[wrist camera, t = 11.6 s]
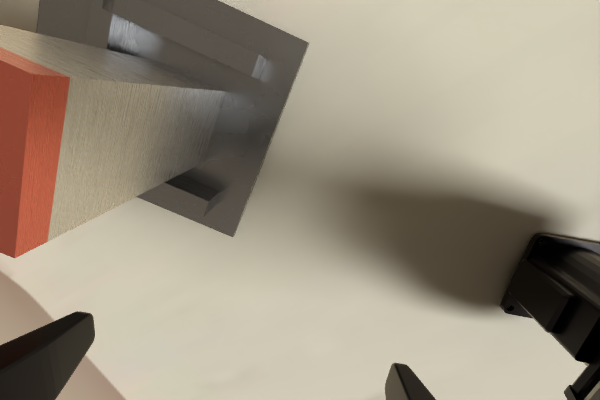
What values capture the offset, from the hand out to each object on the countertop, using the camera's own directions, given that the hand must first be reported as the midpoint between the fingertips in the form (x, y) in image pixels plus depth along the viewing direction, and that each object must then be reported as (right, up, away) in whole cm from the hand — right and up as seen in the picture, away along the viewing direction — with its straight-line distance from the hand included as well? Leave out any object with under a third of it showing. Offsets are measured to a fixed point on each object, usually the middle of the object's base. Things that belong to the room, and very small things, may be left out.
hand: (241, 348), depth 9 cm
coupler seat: (-8, +11, +11) cm, 17 cm away
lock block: (-6, +10, +11) cm, 16 cm away
